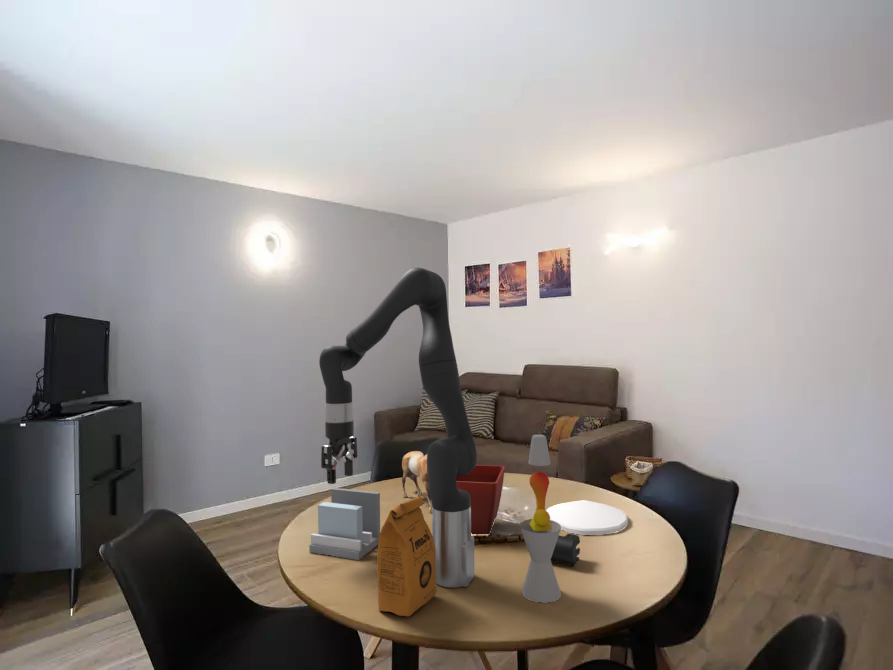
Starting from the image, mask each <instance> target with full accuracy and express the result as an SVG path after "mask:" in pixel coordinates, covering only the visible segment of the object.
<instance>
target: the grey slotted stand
mask: <svg viewBox="0 0 893 670" xmlns="http://www.w3.org/2000/svg"><path fill="white" fill-rule="evenodd" d="M330 491H331V492H330V493H331V498H330V500H331V502H330V503H338V504H346V505H355V506H362V520H363V544H362V540H356V539H349V538H342V537H334V536H327V535H320V534H318V533H311V534H310V544H309V545H308V546H309V551H308V552H309V553H310V552H313V553H312V554H315V553H320V554H319V555H322V554H325V555H324V556H328V555H331V556H330V557H335V556H336V557H335V558H341V557H342V558H343V559H349V560H356V561H359V560H361V559H362V558H363V557H364V556H366V555H367V554H368V553H369V552H371V551H372V550H373V549H374V548H376V547H378V542H379V535H380V532H381V497H380V496H381V495H380V494H381V493H380V492H377V491H376V492H375V491H370V490H369V491H366V490H356V489H349V488H347V489H346V488H338V487H337V488H336V487H333V488H331V490H330ZM342 558H341V559H342Z"/></svg>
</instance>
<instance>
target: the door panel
mask: <svg viewBox="0 0 893 670" xmlns="http://www.w3.org/2000/svg"><path fill="white" fill-rule="evenodd" d="M317 525H318V528H317V532H318V533H317V534H320V535H327V536H334V537H342V538H349V539H356V540H362V544H363V520H362V506H355V505H346V504H338V503H331V502H330V501H329V502H327V501H323V502H320V504H318V505H317Z"/></svg>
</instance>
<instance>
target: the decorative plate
mask: <svg viewBox="0 0 893 670" xmlns="http://www.w3.org/2000/svg"><path fill="white" fill-rule="evenodd" d="M545 510H546V511H547V512H548V513H549V515H550V520H552V521H555V522H557V523H559V524H560V526H561V530H560V531H562V530H564V531H566V532H565V533H567V532H569V533H568V534H570V533H574V534H575V535H576V534H580V535H579V536H581V535H596V536H598V535H597V534H607V533H611V532H616V531H620V530H621V529H623V528H624V527H625V526H626V525H627V524H628V520H629V519H628V515H627V513H625V511H624V510H622V509H620V508H618V507H614V506H611V505H609V504H607V503H606V504H605V503H601V502H597V501H591V500H587V499H581V500H575V501H574V500H573V501H567V502H562V503H558V504H555V505H551V506H549V507H548V508H547V509H545ZM564 531H563V532H564ZM574 534H573V535H574Z"/></svg>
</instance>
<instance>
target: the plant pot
mask: <svg viewBox="0 0 893 670" xmlns="http://www.w3.org/2000/svg"><path fill="white" fill-rule="evenodd" d="M505 469H506V468H505V466H503V465H487V464H476V466H475V468H474V470H473V471H472V472H470V473H468V474H465V475H461V476H457V477H456V482H457V489H461V490H465V491H467V492H468V493H469V494H470V497H471V533H472V534H489V533H490V531H491V532H492V530H491V528H492V525H493V522H494V519H495V518H496V519H497V516H498V512H499V508H500V502H501V498H502V492H503V487H504V486H503V485H504V478H505ZM493 526H494V525H493ZM492 529H493V528H492ZM490 534H491V533H490Z"/></svg>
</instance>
